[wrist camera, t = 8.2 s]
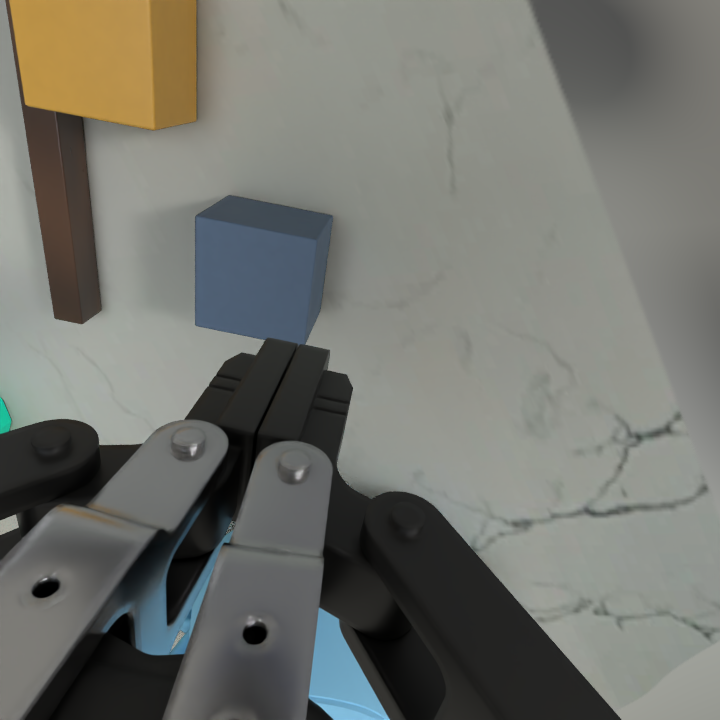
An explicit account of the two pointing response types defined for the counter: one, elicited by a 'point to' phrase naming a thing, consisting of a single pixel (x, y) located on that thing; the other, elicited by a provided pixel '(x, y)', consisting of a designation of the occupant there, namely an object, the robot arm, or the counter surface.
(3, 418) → the candle
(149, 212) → the counter surface
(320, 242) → the slate block
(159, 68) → the ochre block
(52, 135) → the straightedge
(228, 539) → the decorative pot
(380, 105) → the counter surface
